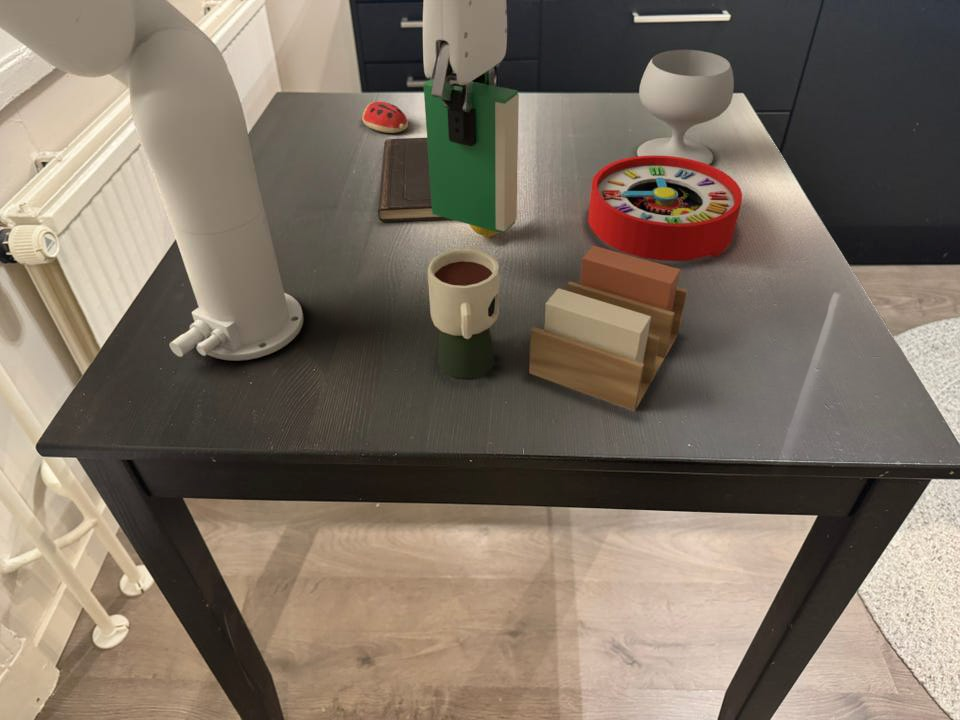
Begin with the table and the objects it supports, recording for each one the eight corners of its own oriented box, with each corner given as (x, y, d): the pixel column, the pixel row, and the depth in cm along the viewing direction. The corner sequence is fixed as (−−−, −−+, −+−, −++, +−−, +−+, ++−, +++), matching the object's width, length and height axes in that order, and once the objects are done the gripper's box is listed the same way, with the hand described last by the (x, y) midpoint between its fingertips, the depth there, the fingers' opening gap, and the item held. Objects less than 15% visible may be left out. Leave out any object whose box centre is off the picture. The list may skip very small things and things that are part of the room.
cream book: (629, 401, 75) (640, 333, 69) (541, 369, 78) (545, 303, 72) (639, 383, 77) (651, 316, 71) (553, 354, 80) (558, 287, 74)
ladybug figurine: (381, 113, 133) (379, 93, 131) (419, 127, 128) (417, 107, 126) (353, 124, 130) (350, 105, 127) (391, 140, 125) (389, 120, 122)
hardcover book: (480, 148, 122) (480, 135, 120) (490, 218, 104) (490, 203, 103) (385, 152, 121) (383, 139, 120) (379, 222, 104) (377, 208, 102)
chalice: (636, 134, 125) (648, 44, 115) (719, 143, 122) (739, 50, 112) (626, 170, 115) (638, 75, 105) (717, 181, 112) (738, 83, 102)
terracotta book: (658, 350, 81) (671, 283, 75) (576, 323, 84) (582, 258, 78) (667, 335, 83) (680, 269, 77) (586, 309, 86) (592, 245, 80)
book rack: (633, 416, 74) (642, 366, 70) (528, 378, 79) (530, 329, 74) (677, 337, 83) (688, 289, 79) (581, 307, 88) (586, 260, 84)
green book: (504, 234, 85) (505, 100, 75) (431, 214, 89) (422, 83, 78) (516, 222, 87) (519, 90, 77) (445, 203, 91) (437, 74, 80)
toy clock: (759, 226, 90) (598, 225, 91) (748, 266, 94) (594, 265, 95) (724, 155, 105) (586, 155, 106) (716, 191, 109) (582, 191, 110)
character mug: (503, 397, 76) (504, 297, 68) (435, 401, 76) (428, 301, 68) (494, 332, 85) (494, 236, 76) (433, 336, 84) (426, 239, 76)
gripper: (474, -68, 76) (478, 104, 88) (384, -32, 65) (402, 158, 77) (539, -62, 73) (533, 116, 85) (456, -23, 62) (463, 174, 74)
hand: (471, 135), depth 81 cm, fingers closed on green book, 3 cm apart
